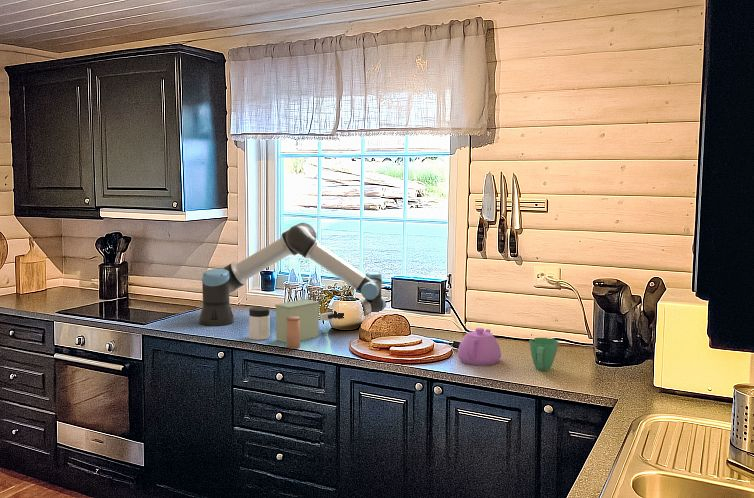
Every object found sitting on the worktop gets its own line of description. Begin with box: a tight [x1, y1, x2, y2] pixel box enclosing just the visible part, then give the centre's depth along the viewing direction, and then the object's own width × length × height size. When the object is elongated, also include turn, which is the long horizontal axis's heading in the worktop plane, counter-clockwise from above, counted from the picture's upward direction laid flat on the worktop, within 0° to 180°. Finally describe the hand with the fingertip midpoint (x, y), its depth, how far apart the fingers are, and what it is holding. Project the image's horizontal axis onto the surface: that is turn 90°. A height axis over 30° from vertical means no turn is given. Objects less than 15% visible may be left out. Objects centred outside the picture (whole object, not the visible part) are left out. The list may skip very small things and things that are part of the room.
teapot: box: [457, 327, 502, 367], centre depth 252 cm, size 22×16×12 cm
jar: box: [248, 306, 271, 341], centre depth 283 cm, size 9×8×12 cm
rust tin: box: [286, 316, 301, 350], centre depth 268 cm, size 5×5×12 cm
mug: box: [529, 337, 559, 371], centre depth 240 cm, size 15×10×10 cm
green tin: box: [275, 298, 320, 343], centre depth 283 cm, size 8×16×15 cm, turn 139°
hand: (321, 317), depth 293 cm, fingers closed
